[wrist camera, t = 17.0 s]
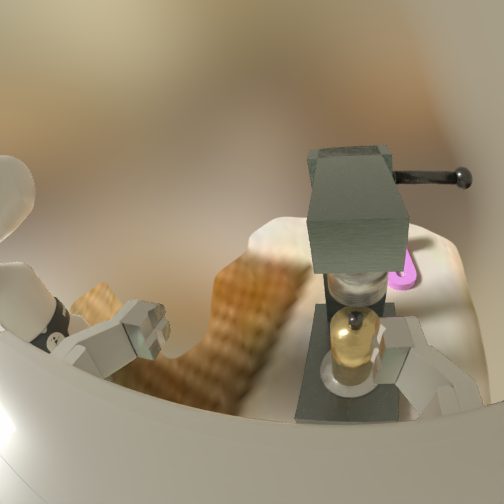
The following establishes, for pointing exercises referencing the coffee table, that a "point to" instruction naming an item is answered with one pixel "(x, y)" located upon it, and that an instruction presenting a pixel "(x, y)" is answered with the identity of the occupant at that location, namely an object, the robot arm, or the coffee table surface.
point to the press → (355, 268)
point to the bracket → (408, 279)
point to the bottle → (352, 344)
